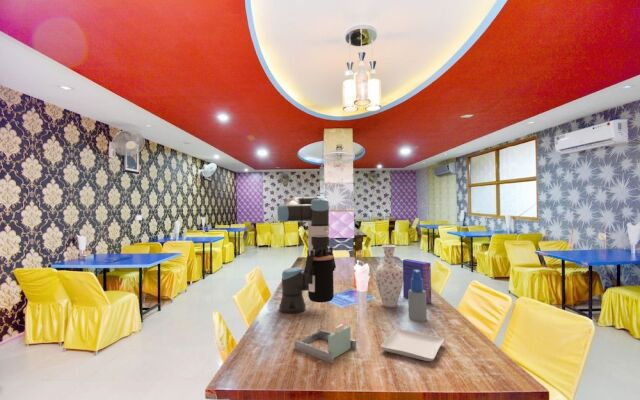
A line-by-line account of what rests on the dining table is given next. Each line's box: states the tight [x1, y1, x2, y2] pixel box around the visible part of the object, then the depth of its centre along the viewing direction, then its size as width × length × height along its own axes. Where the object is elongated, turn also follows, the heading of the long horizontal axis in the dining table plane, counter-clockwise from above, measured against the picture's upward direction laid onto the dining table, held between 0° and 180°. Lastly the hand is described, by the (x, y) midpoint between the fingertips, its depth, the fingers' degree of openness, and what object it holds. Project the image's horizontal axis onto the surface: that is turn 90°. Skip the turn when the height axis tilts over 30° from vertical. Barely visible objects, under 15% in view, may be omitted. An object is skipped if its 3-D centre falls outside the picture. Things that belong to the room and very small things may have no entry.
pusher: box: [327, 323, 351, 359], centre depth 127 cm, size 1×13×11 cm, turn 139°
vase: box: [375, 244, 403, 308], centre depth 189 cm, size 16×16×35 cm
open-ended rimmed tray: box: [294, 328, 357, 365], centre depth 132 cm, size 20×16×4 cm
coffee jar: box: [307, 255, 335, 303], centre depth 134 cm, size 11×11×18 cm
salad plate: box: [379, 328, 445, 362], centre depth 132 cm, size 21×21×3 cm
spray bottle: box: [407, 270, 428, 323], centre depth 166 cm, size 9×9×25 cm
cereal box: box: [402, 259, 432, 305], centre depth 199 cm, size 17×5×24 cm, turn 34°
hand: (320, 288), depth 134 cm, fingers closed on coffee jar, 11 cm apart
